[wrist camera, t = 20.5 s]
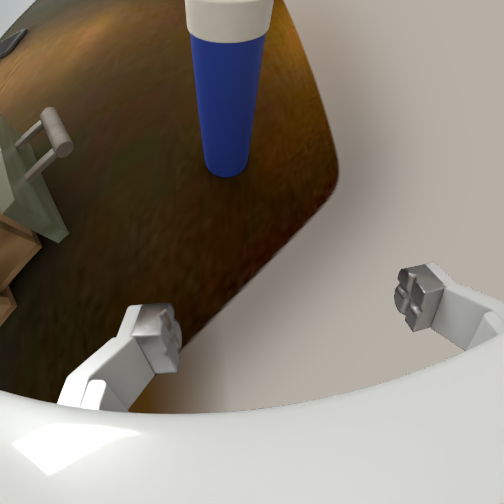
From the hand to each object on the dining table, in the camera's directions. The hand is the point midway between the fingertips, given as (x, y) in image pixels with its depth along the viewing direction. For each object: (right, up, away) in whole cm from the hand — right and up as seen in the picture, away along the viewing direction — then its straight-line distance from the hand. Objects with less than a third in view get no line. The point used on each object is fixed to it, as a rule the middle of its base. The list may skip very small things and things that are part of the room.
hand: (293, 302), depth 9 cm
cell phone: (-48, +38, +14) cm, 63 cm away
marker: (-3, +9, +11) cm, 14 cm away
